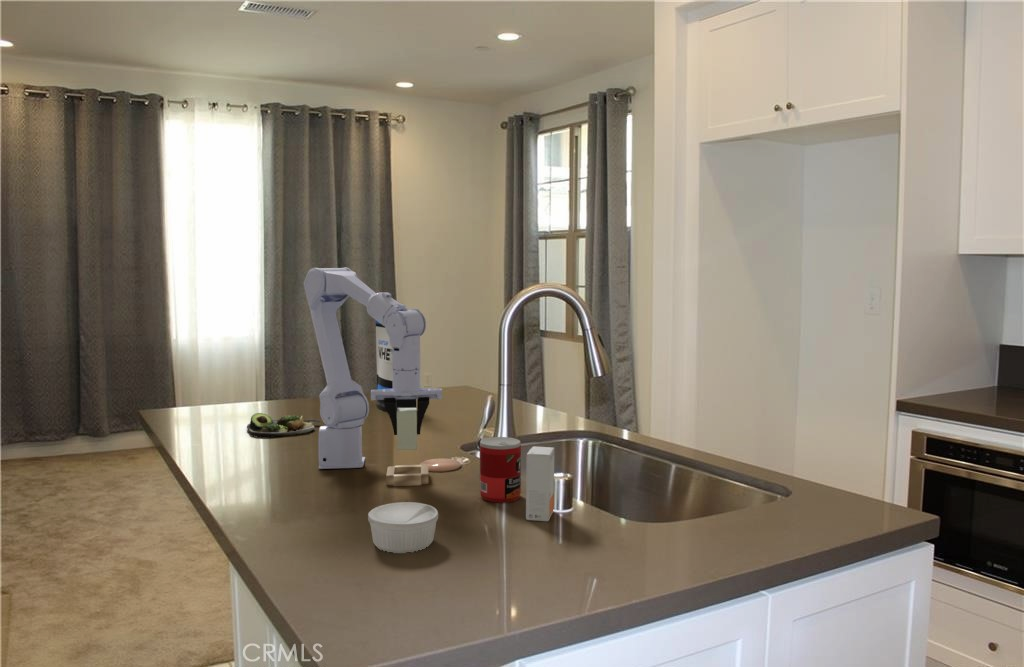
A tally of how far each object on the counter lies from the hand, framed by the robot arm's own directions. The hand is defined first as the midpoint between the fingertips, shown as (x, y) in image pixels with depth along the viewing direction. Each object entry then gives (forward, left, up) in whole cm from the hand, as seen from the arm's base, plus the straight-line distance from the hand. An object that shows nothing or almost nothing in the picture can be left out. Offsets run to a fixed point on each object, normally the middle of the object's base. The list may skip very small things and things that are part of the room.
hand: (407, 433), depth 164 cm
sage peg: (0, 0, -3) cm, 3 cm away
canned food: (+18, -14, -10) cm, 25 cm away
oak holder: (0, 0, -10) cm, 10 cm away
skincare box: (+24, -26, -10) cm, 37 cm away
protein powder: (-5, +79, -10) cm, 80 cm away
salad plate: (-35, +52, -10) cm, 64 cm away
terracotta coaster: (+7, +10, -10) cm, 16 cm away
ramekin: (0, -37, -10) cm, 38 cm away
